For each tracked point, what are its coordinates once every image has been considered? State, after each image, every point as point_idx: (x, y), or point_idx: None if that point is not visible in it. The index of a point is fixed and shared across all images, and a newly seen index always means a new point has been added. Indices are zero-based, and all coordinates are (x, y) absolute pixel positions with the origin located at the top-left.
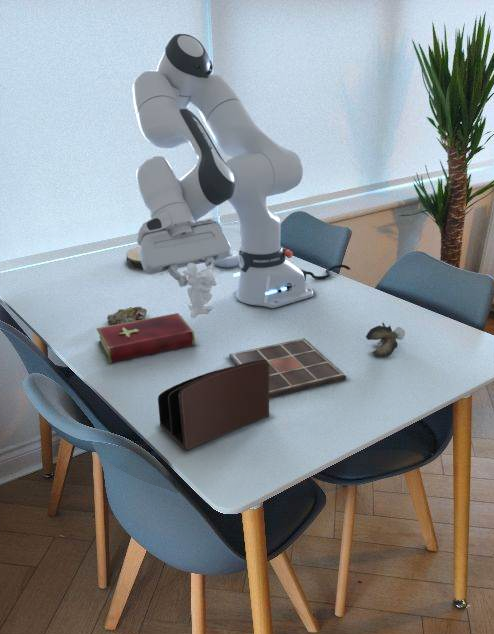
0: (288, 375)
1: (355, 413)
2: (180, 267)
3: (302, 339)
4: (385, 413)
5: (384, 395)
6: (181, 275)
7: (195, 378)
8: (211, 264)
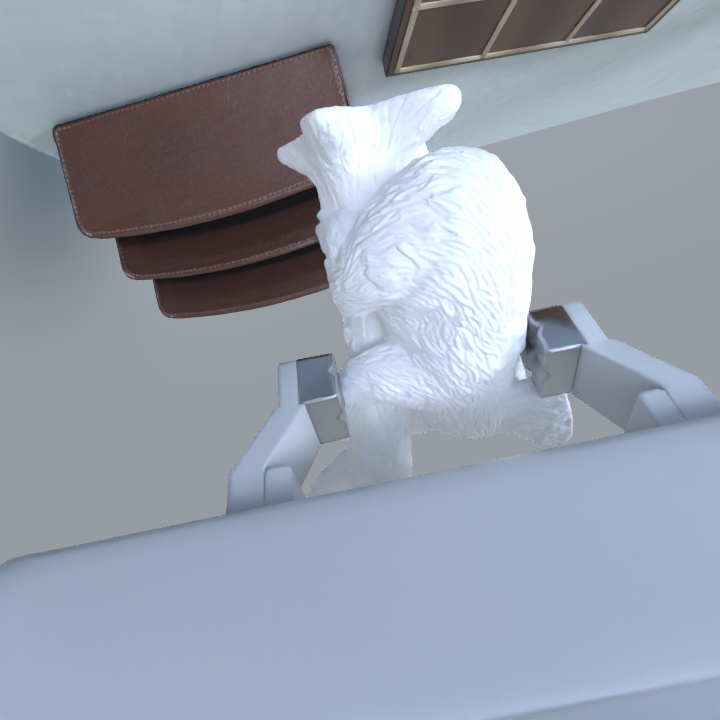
0: (530, 6)
1: (513, 110)
2: (371, 491)
3: None
4: (554, 113)
5: (623, 75)
6: (316, 449)
7: (198, 223)
8: (617, 421)
